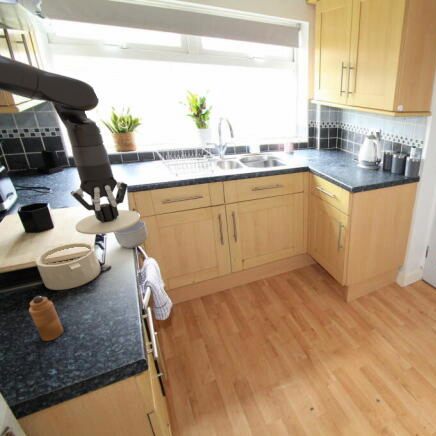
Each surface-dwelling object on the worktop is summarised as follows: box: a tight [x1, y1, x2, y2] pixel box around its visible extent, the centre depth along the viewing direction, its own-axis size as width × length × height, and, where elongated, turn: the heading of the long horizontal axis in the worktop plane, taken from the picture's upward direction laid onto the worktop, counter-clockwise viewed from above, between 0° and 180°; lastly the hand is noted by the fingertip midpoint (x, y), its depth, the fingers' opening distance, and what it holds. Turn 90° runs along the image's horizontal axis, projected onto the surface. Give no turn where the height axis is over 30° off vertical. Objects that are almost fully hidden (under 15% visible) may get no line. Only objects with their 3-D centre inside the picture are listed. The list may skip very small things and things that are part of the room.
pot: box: [35, 242, 101, 291], centre depth 102 cm, size 15×20×8 cm
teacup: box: [113, 219, 149, 249], centre depth 123 cm, size 14×11×8 cm
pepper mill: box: [28, 295, 65, 342], centre depth 78 cm, size 4×4×12 cm
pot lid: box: [74, 203, 141, 235], centre depth 92 cm, size 16×16×6 cm
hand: (108, 219), depth 92 cm, fingers closed on pot lid, 2 cm apart
